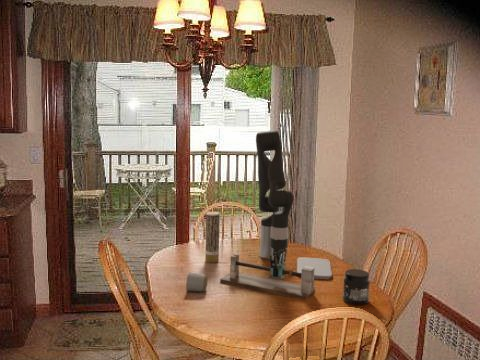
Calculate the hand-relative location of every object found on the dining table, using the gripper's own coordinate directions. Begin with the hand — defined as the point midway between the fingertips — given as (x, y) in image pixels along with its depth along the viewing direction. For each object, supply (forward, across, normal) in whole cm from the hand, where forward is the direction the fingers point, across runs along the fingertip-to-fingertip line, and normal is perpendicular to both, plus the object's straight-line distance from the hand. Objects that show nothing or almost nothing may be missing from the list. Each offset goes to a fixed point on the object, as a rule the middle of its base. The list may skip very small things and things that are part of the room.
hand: (277, 274), depth 199 cm
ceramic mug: (+7, +18, -30) cm, 36 cm away
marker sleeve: (+1, 0, 0) cm, 1 cm away
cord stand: (+6, 0, -5) cm, 8 cm away
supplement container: (+7, -4, +33) cm, 34 cm away
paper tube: (+7, -18, -43) cm, 47 cm away
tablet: (+7, -32, +6) cm, 33 cm away
